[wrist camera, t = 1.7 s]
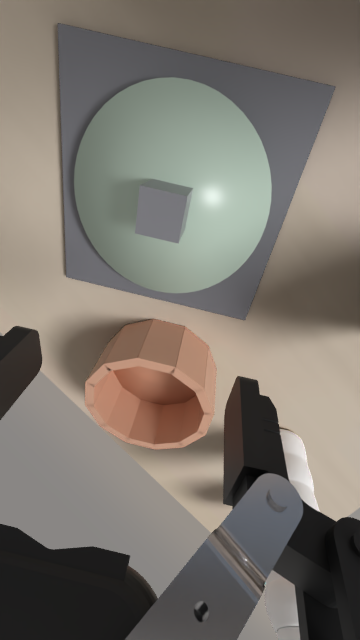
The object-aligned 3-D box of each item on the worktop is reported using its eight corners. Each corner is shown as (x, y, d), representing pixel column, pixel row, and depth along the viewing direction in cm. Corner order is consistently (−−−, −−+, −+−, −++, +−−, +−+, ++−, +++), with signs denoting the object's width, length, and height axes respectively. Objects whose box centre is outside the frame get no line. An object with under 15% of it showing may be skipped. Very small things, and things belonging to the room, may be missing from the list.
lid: (78, 56, 21) (40, 35, 17) (304, 107, 21) (324, 100, 16) (79, 268, 30) (55, 288, 26) (235, 305, 30) (237, 332, 26)
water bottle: (278, 462, 44) (322, 752, 23) (242, 441, 43) (255, 731, 22) (314, 441, 40) (404, 765, 20) (276, 419, 39) (329, 740, 18)
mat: (61, 25, 20) (57, 22, 20) (333, 87, 20) (335, 86, 20) (68, 275, 32) (66, 277, 31) (244, 317, 31) (244, 320, 31)
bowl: (110, 308, 33) (85, 345, 27) (228, 337, 33) (227, 380, 27) (105, 389, 41) (84, 431, 35) (200, 413, 41) (195, 459, 35)
